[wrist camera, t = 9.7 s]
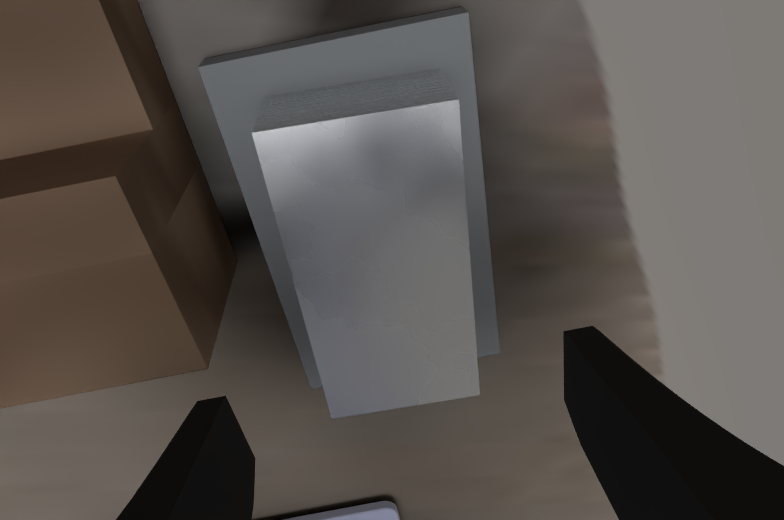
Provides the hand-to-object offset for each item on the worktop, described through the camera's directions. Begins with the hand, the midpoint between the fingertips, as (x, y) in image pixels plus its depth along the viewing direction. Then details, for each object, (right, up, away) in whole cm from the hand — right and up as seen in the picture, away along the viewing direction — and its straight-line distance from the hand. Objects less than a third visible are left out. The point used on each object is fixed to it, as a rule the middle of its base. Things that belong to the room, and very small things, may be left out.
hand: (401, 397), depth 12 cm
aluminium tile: (-1, +4, +3) cm, 5 cm away
